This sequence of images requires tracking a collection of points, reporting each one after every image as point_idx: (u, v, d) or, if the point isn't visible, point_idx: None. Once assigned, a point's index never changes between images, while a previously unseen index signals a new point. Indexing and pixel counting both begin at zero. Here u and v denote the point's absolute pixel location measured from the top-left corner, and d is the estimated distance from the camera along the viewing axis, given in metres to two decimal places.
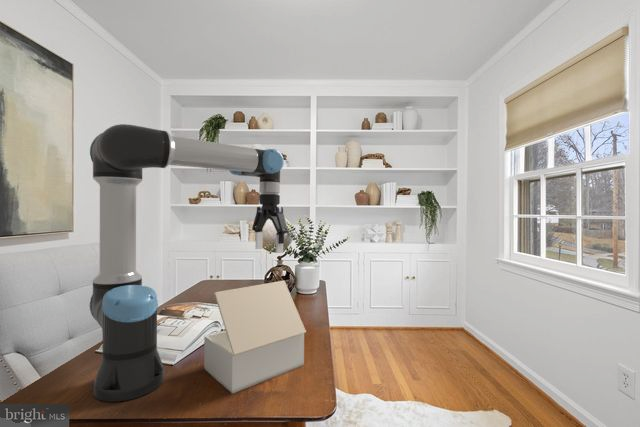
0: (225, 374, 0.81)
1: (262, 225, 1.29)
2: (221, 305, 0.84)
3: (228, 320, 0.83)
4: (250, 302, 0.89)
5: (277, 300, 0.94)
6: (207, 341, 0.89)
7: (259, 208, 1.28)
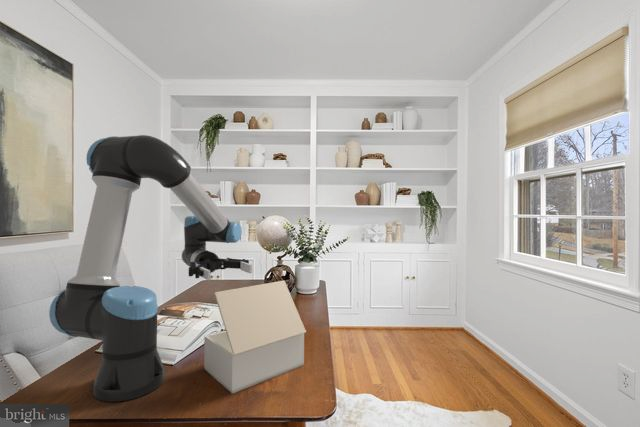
0: (225, 374, 0.81)
1: None
2: (221, 305, 0.84)
3: (228, 320, 0.83)
4: (250, 302, 0.89)
5: (277, 300, 0.94)
6: (207, 341, 0.89)
7: None
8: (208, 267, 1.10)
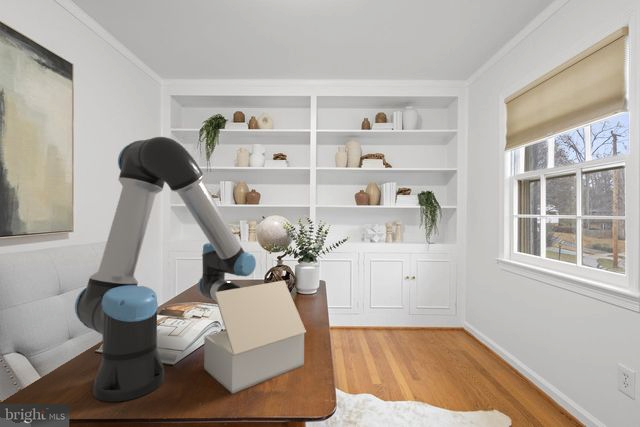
0: (225, 374, 0.81)
1: None
2: (221, 305, 0.84)
3: (228, 320, 0.83)
4: (250, 302, 0.89)
5: (277, 300, 0.94)
6: (207, 341, 0.89)
7: None
8: None
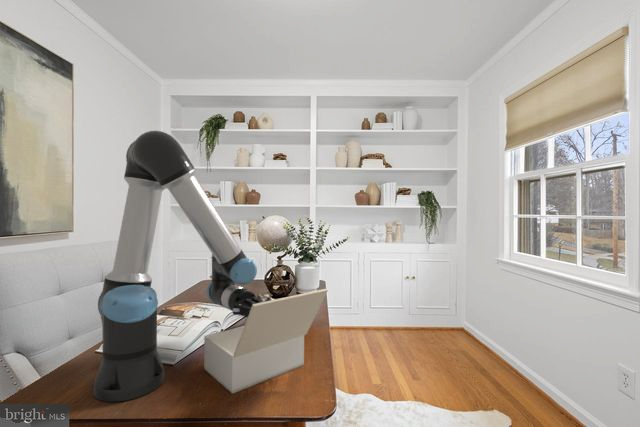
0: (225, 374, 0.81)
1: None
2: (251, 318, 0.73)
3: (248, 331, 0.75)
4: (280, 313, 0.79)
5: (305, 310, 0.85)
6: (207, 341, 0.89)
7: None
8: None
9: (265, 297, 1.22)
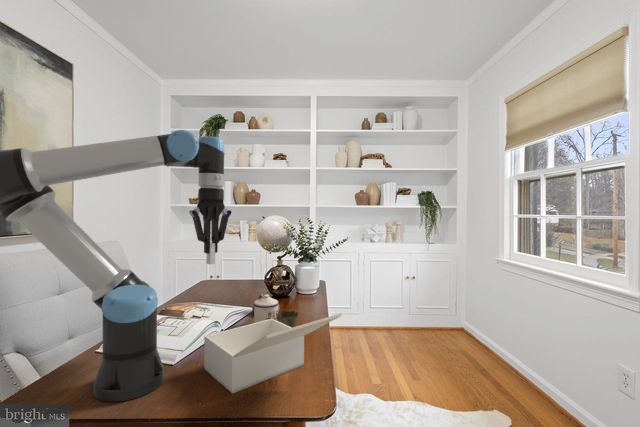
0: (225, 374, 0.81)
1: (214, 231, 1.03)
2: (260, 342, 0.71)
3: (254, 347, 0.74)
4: (289, 334, 0.76)
5: (313, 327, 0.83)
6: (207, 341, 0.89)
7: None
8: None
9: (265, 297, 1.22)
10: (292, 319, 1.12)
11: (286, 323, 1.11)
